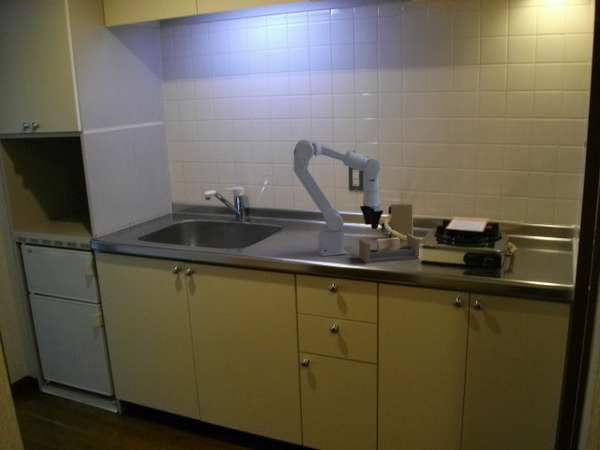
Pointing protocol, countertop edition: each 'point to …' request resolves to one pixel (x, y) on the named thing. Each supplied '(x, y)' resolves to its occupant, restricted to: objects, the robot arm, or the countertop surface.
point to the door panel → (388, 244)
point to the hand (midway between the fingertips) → (371, 226)
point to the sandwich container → (401, 219)
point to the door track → (404, 253)
